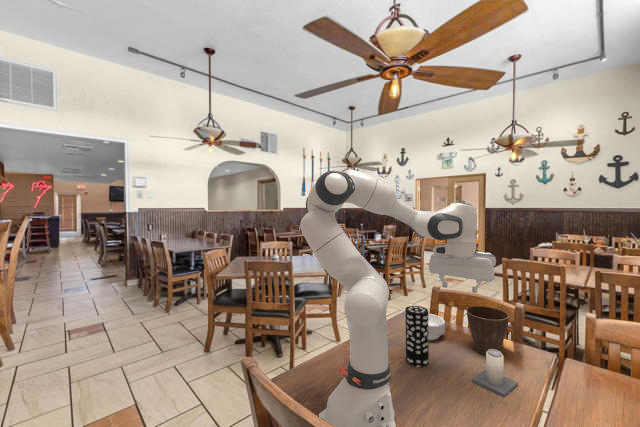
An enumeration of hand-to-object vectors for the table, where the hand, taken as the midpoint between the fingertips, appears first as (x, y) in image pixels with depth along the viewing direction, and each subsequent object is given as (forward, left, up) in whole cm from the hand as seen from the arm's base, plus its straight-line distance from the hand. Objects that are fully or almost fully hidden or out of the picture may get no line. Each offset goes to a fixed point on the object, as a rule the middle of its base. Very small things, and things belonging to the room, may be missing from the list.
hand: (459, 289), depth 101 cm
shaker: (+6, -9, -30) cm, 31 cm away
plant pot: (+26, +3, -31) cm, 40 cm away
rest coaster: (+6, -9, -31) cm, 32 cm away
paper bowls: (+19, +26, -31) cm, 45 cm away
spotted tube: (-3, +15, -31) cm, 34 cm away
